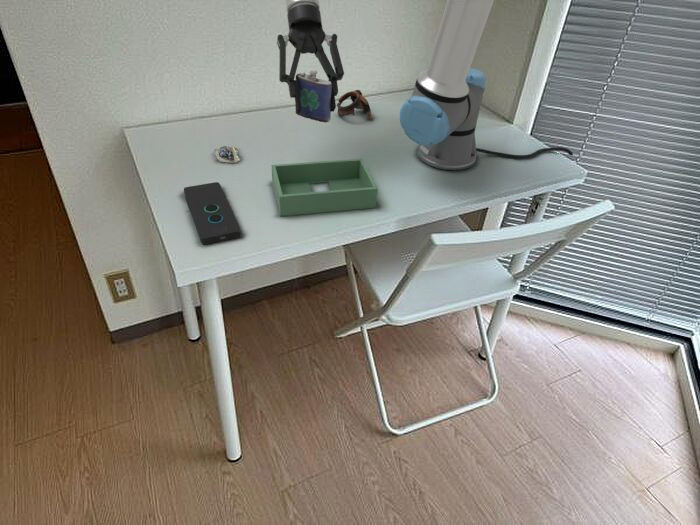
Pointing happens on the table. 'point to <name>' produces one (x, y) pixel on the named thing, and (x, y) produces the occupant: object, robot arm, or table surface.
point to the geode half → (227, 154)
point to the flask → (314, 97)
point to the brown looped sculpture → (354, 104)
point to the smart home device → (211, 213)
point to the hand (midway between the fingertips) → (316, 110)
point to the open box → (346, 191)
